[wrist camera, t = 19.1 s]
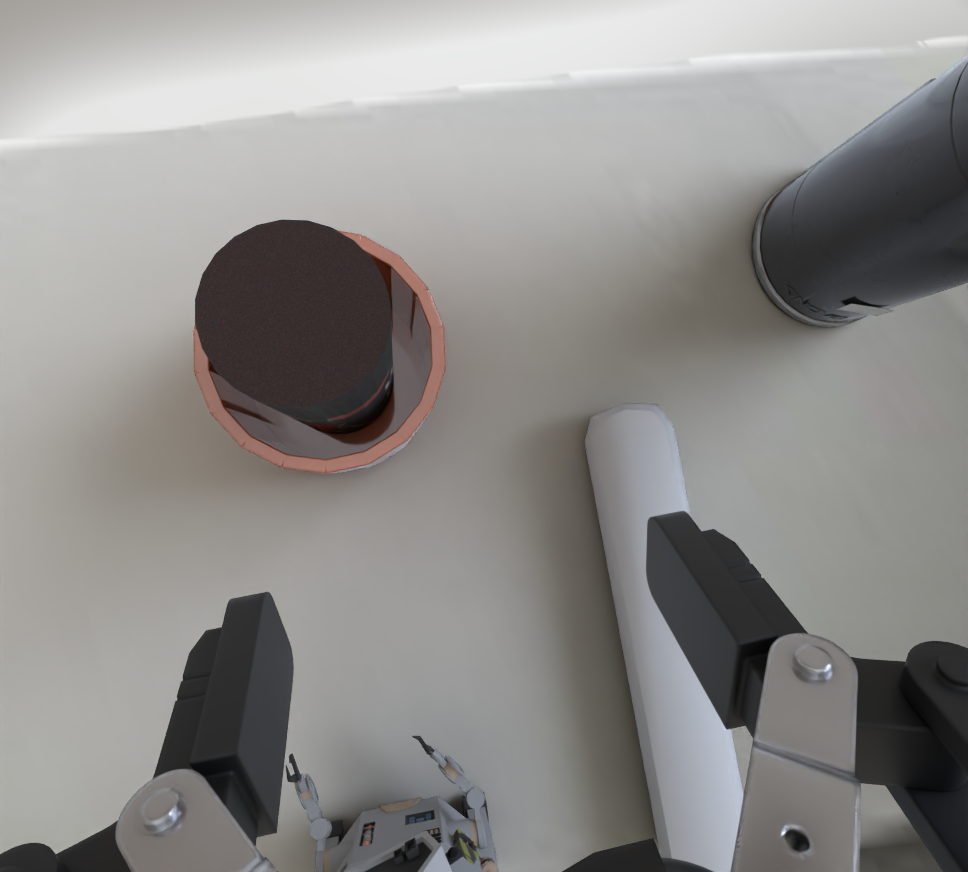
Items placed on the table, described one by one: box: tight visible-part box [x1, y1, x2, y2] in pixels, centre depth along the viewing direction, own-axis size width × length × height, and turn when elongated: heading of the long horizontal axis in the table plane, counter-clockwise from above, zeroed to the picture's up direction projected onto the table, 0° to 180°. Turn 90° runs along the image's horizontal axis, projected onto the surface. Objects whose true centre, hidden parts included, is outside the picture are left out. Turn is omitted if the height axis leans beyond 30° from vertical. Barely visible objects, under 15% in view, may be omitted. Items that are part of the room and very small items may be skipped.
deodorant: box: [195, 220, 394, 434], centre depth 27 cm, size 6×6×15 cm
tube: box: [585, 403, 743, 872], centre depth 35 cm, size 5×5×25 cm
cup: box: [194, 231, 445, 474], centre depth 31 cm, size 10×10×8 cm
